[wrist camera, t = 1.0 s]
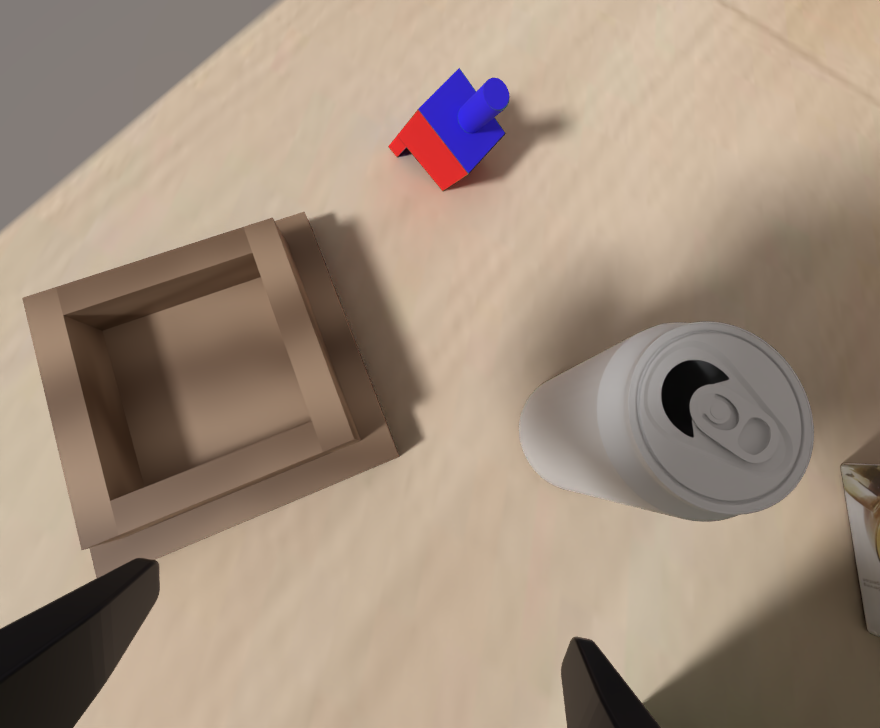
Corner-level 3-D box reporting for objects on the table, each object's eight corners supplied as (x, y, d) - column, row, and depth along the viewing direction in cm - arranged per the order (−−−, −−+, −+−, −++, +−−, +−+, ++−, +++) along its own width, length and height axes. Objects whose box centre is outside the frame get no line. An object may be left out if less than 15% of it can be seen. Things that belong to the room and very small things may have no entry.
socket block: (399, 456, 23) (396, 457, 19) (120, 574, 21) (52, 601, 17) (310, 225, 25) (291, 184, 21) (54, 309, 23) (-19, 280, 19)
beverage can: (556, 356, 25) (685, 267, 13) (645, 423, 24) (865, 395, 12) (493, 442, 23) (573, 430, 12) (585, 515, 23) (768, 581, 11)
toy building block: (432, 198, 28) (495, 156, 21) (387, 146, 26) (439, 80, 19) (463, 164, 29) (535, 111, 22) (422, 111, 27) (485, 35, 20)
